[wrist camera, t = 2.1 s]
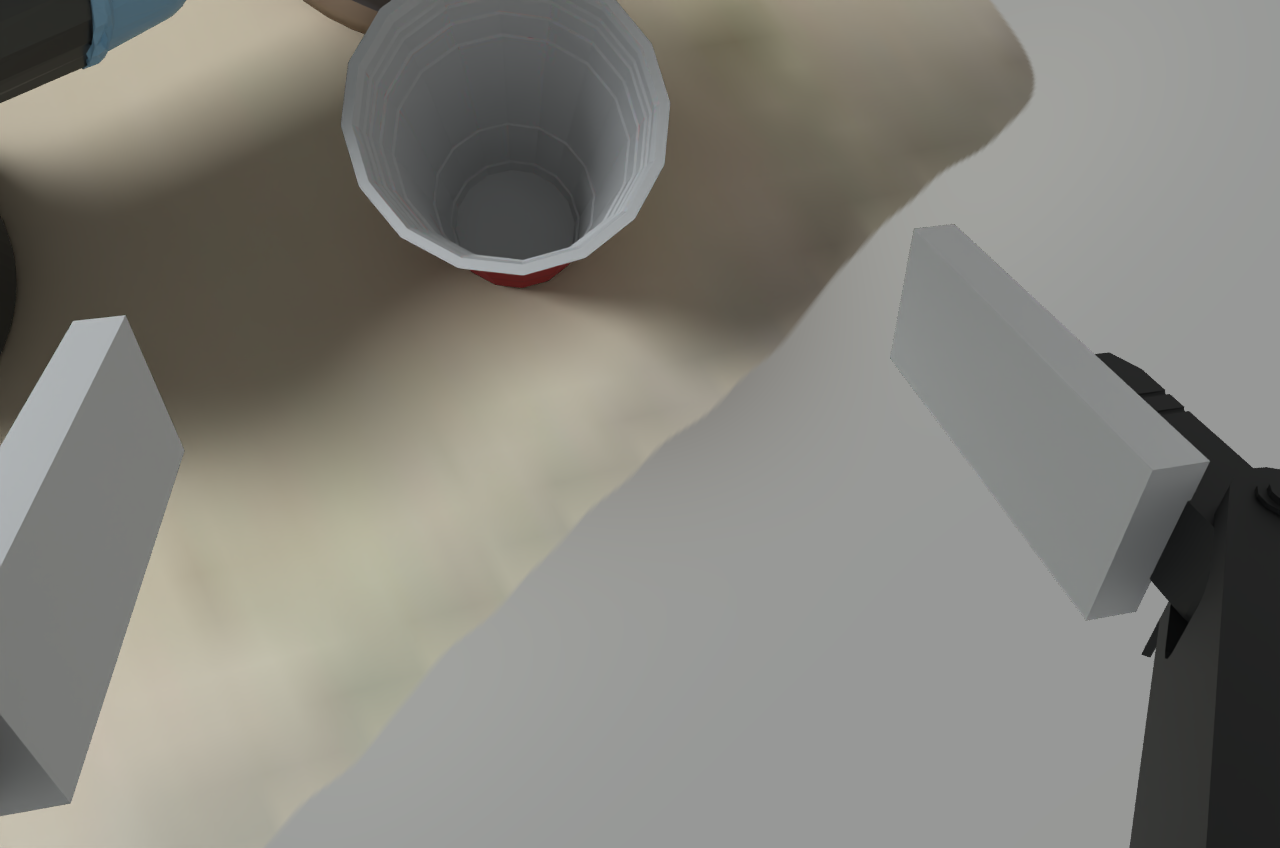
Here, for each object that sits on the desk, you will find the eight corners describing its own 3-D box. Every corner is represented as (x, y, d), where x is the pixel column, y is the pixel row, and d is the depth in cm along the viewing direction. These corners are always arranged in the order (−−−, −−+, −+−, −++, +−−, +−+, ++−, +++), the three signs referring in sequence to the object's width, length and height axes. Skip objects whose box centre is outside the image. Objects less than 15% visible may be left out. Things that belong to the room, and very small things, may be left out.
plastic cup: (339, 242, 40) (262, 117, 28) (497, 73, 42) (486, -109, 30) (528, 396, 40) (530, 337, 28) (676, 221, 42) (736, 98, 30)
